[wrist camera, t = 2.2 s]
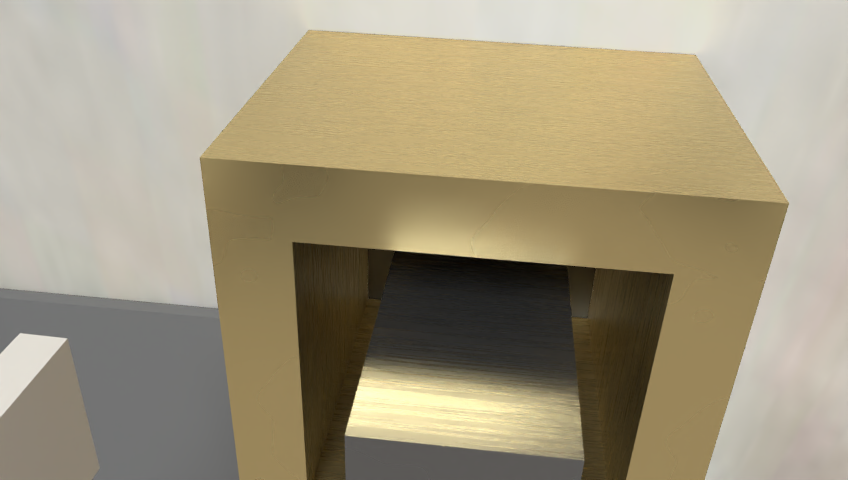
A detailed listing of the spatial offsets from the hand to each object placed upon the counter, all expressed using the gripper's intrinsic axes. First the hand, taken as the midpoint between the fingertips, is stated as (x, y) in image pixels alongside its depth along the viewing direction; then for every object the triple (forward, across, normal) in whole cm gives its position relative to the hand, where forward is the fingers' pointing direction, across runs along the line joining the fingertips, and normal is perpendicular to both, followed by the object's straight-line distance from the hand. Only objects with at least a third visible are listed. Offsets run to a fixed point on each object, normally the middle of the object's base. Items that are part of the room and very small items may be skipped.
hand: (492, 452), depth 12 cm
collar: (+8, -1, 0) cm, 8 cm away
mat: (+7, -12, -8) cm, 16 cm away
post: (+8, -1, 0) cm, 8 cm away
